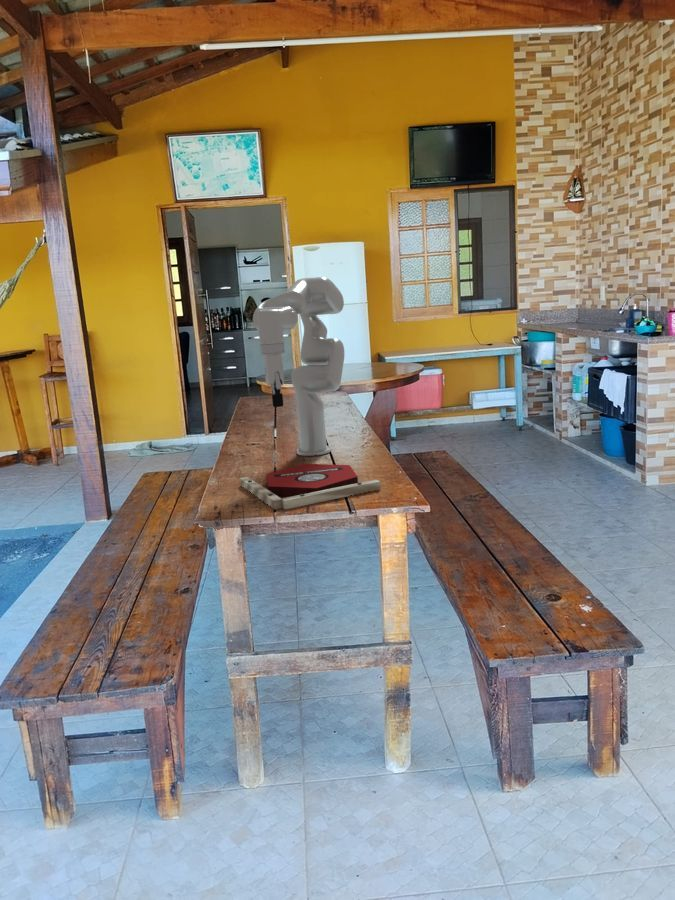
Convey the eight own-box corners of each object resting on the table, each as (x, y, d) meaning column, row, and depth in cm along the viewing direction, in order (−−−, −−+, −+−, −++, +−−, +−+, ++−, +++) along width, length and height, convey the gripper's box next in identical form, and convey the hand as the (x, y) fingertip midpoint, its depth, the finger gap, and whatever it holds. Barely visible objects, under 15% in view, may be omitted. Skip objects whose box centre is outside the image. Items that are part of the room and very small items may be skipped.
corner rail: (240, 486, 229) (239, 477, 228) (333, 468, 242) (333, 460, 241) (277, 511, 201) (276, 501, 200) (380, 489, 214) (379, 480, 213)
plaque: (265, 478, 237) (271, 505, 208) (264, 468, 236) (270, 493, 207) (346, 469, 240) (363, 494, 211) (345, 459, 240) (362, 482, 211)
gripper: (257, 348, 237) (263, 404, 242) (263, 352, 223) (269, 411, 227) (280, 346, 239) (286, 401, 243) (288, 350, 224) (293, 408, 229)
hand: (278, 406), depth 235 cm, fingers closed
